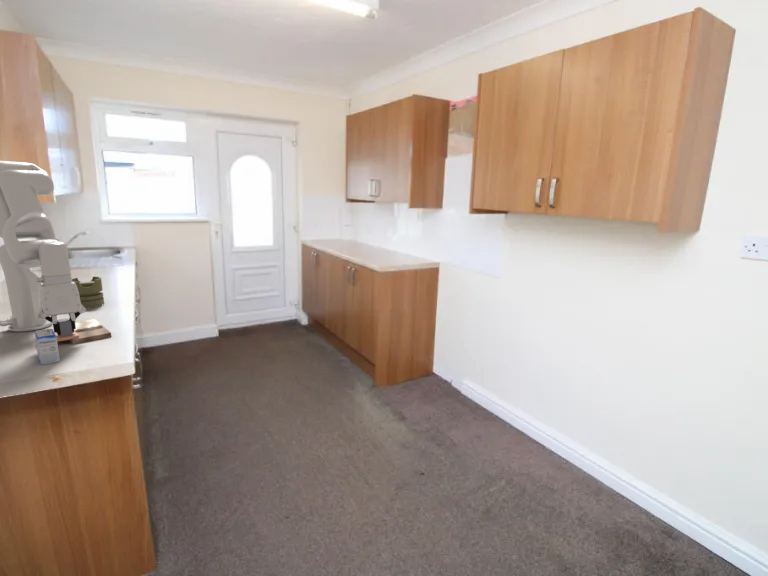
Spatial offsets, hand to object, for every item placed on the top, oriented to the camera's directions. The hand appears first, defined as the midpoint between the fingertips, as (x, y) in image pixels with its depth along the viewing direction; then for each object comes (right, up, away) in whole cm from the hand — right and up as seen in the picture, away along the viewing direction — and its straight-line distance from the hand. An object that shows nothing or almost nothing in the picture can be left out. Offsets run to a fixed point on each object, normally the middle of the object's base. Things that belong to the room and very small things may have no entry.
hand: (65, 332), depth 140 cm
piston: (-25, +7, +47) cm, 53 cm away
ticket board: (0, -1, +9) cm, 9 cm away
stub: (-1, -2, -1) cm, 3 cm away
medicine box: (+6, -7, -15) cm, 17 cm away
